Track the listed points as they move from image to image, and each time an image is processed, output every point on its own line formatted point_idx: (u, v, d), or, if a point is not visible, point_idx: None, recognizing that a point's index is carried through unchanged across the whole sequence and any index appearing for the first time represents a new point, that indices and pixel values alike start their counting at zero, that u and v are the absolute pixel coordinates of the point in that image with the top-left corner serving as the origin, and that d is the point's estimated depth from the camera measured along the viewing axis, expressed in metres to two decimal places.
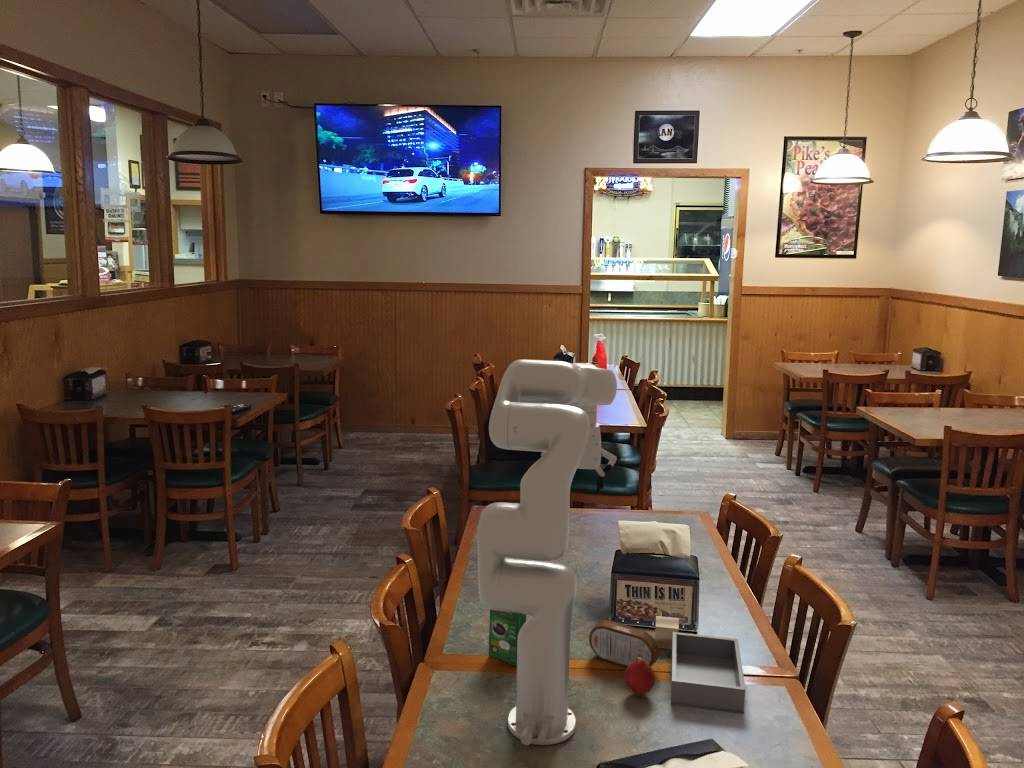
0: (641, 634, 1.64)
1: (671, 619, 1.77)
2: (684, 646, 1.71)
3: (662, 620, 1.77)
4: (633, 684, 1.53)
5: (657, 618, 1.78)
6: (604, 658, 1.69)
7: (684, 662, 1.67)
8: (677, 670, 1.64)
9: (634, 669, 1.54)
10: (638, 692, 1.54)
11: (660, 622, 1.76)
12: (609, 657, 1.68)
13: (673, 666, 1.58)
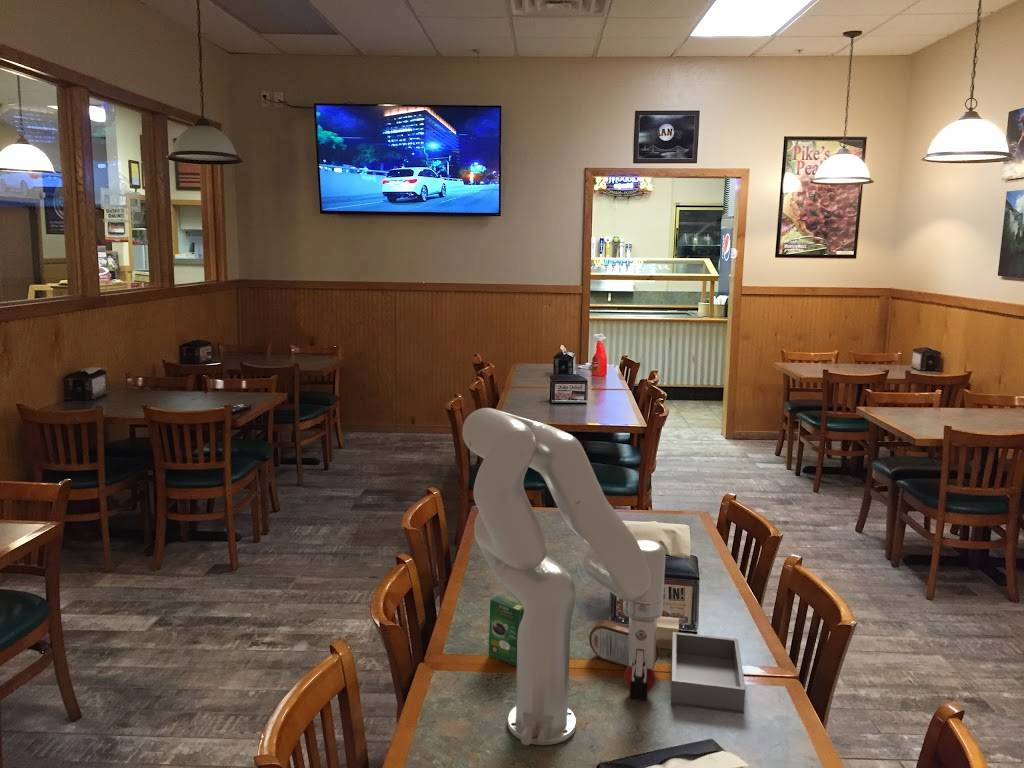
0: None
1: (671, 619, 1.77)
2: (684, 646, 1.71)
3: (662, 620, 1.77)
4: None
5: None
6: (604, 658, 1.69)
7: (684, 662, 1.67)
8: (677, 670, 1.64)
9: None
10: None
11: (660, 622, 1.76)
12: (609, 657, 1.68)
13: (673, 666, 1.58)
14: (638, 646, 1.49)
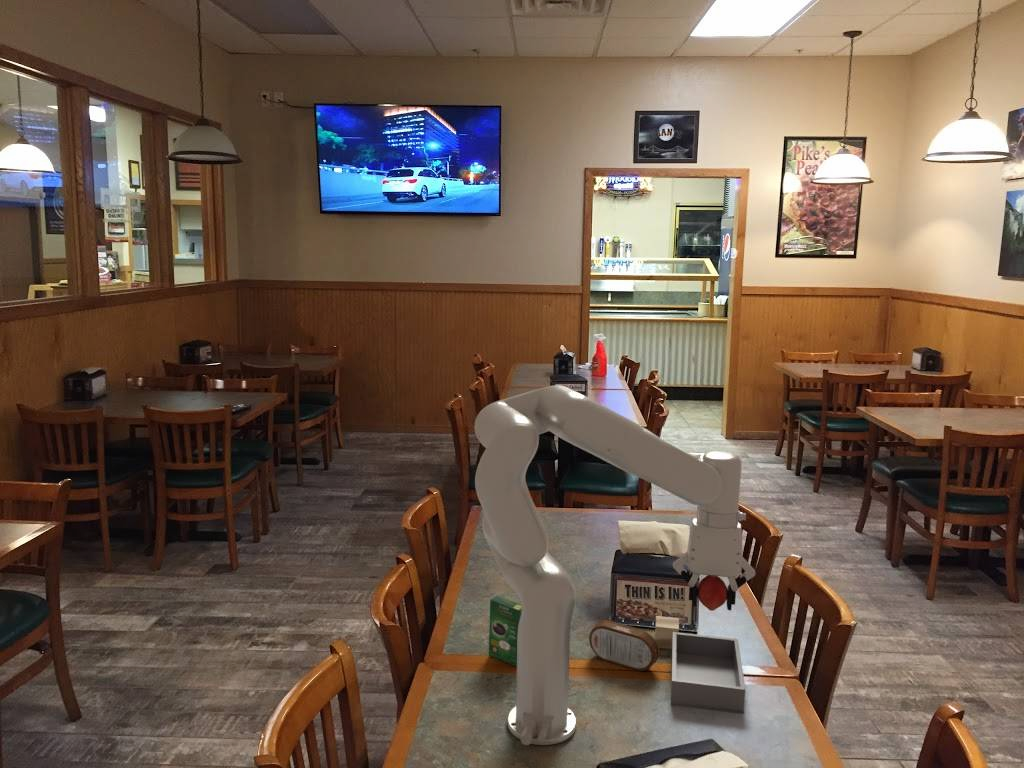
0: (641, 634, 1.64)
1: (671, 619, 1.77)
2: (684, 646, 1.71)
3: (662, 620, 1.77)
4: (727, 596, 1.52)
5: (657, 618, 1.78)
6: (604, 658, 1.69)
7: (684, 662, 1.67)
8: (677, 670, 1.64)
9: (721, 583, 1.52)
10: None
11: (660, 622, 1.76)
12: (609, 657, 1.68)
13: (673, 666, 1.58)
14: None
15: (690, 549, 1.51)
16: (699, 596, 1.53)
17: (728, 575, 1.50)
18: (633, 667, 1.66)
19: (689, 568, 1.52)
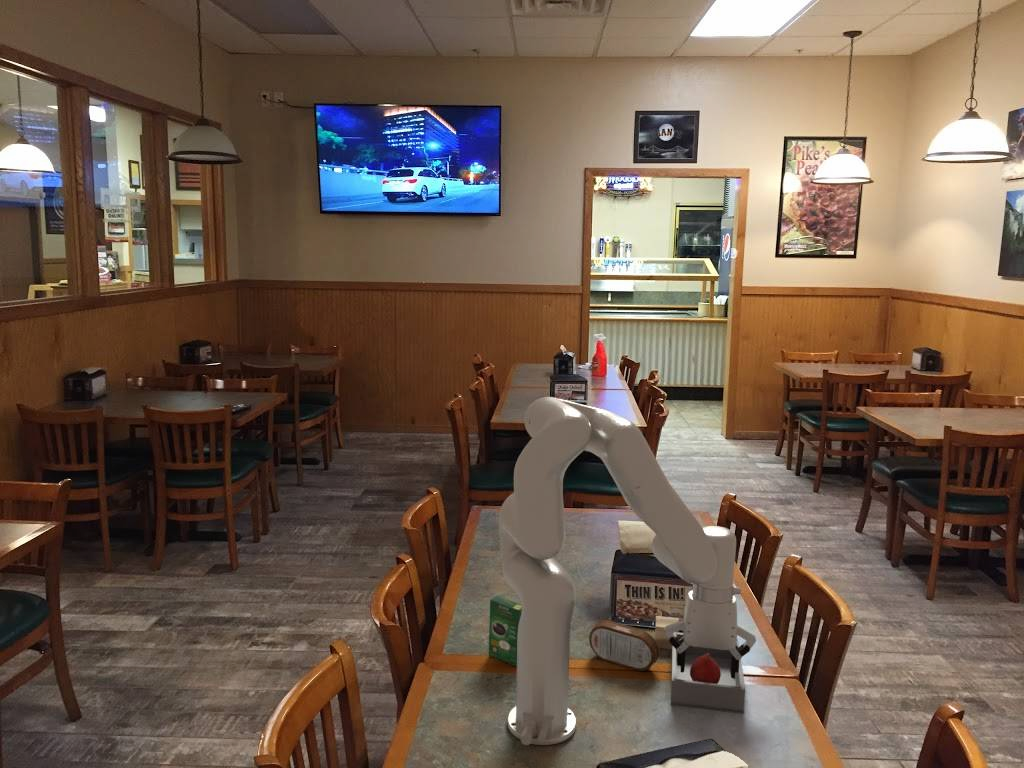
0: (641, 634, 1.64)
1: (671, 619, 1.77)
2: None
3: (662, 620, 1.77)
4: (719, 678, 1.55)
5: (657, 618, 1.78)
6: (604, 658, 1.69)
7: None
8: (677, 670, 1.64)
9: (714, 665, 1.55)
10: None
11: (660, 622, 1.76)
12: (609, 657, 1.68)
13: (673, 666, 1.58)
14: None
15: (686, 622, 1.54)
16: (692, 677, 1.56)
17: (724, 648, 1.53)
18: (633, 667, 1.66)
19: (685, 640, 1.54)
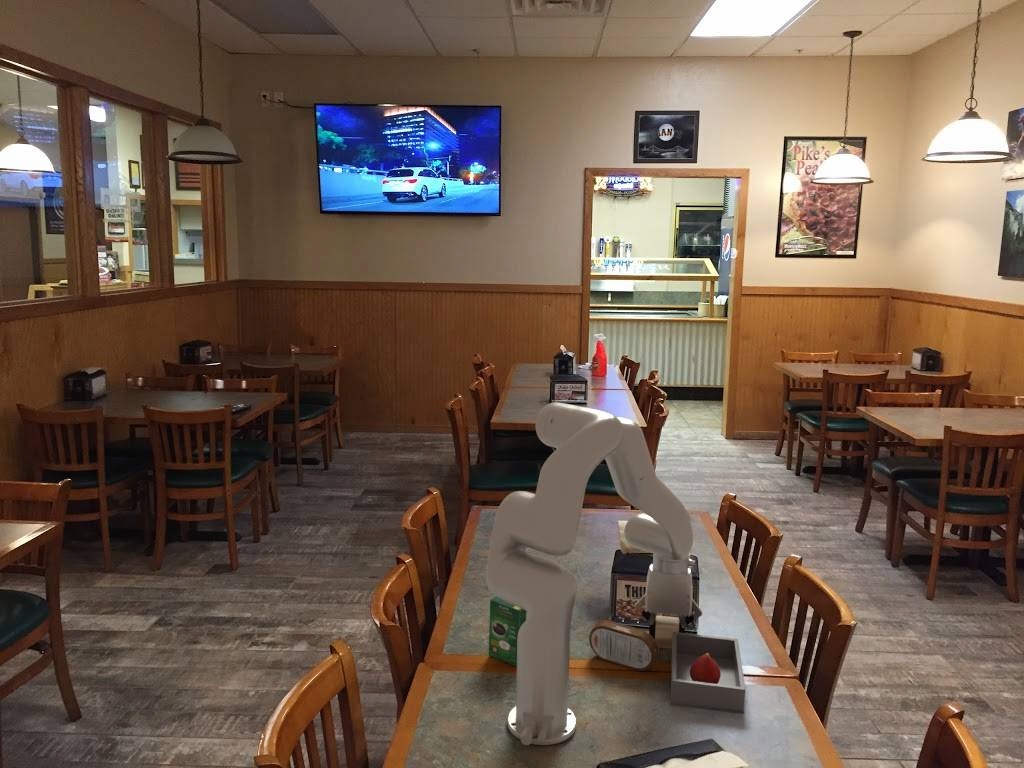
0: (641, 634, 1.64)
1: (671, 619, 1.77)
2: (684, 646, 1.71)
3: (662, 619, 1.77)
4: (719, 678, 1.55)
5: (657, 618, 1.78)
6: (604, 658, 1.69)
7: (684, 662, 1.67)
8: (677, 670, 1.64)
9: (714, 665, 1.55)
10: None
11: (660, 621, 1.76)
12: (609, 657, 1.68)
13: (673, 666, 1.58)
14: None
15: (647, 591, 1.74)
16: (692, 677, 1.56)
17: (680, 614, 1.73)
18: (633, 667, 1.66)
19: (646, 608, 1.74)
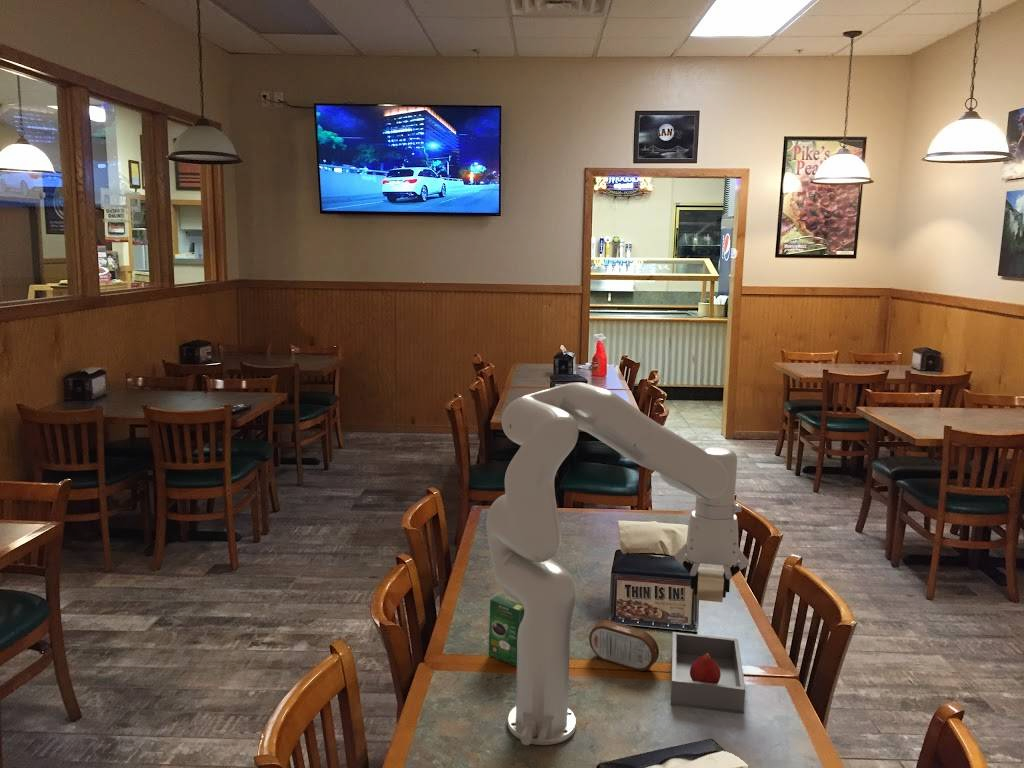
0: (641, 634, 1.64)
1: (714, 570, 1.64)
2: (684, 646, 1.71)
3: (705, 571, 1.64)
4: (719, 678, 1.55)
5: (699, 569, 1.64)
6: (604, 658, 1.69)
7: (684, 662, 1.67)
8: (677, 670, 1.64)
9: (714, 665, 1.55)
10: None
11: (703, 572, 1.63)
12: (609, 657, 1.68)
13: (673, 666, 1.58)
14: None
15: (689, 539, 1.60)
16: (692, 677, 1.56)
17: (725, 564, 1.60)
18: (633, 667, 1.66)
19: (688, 557, 1.61)
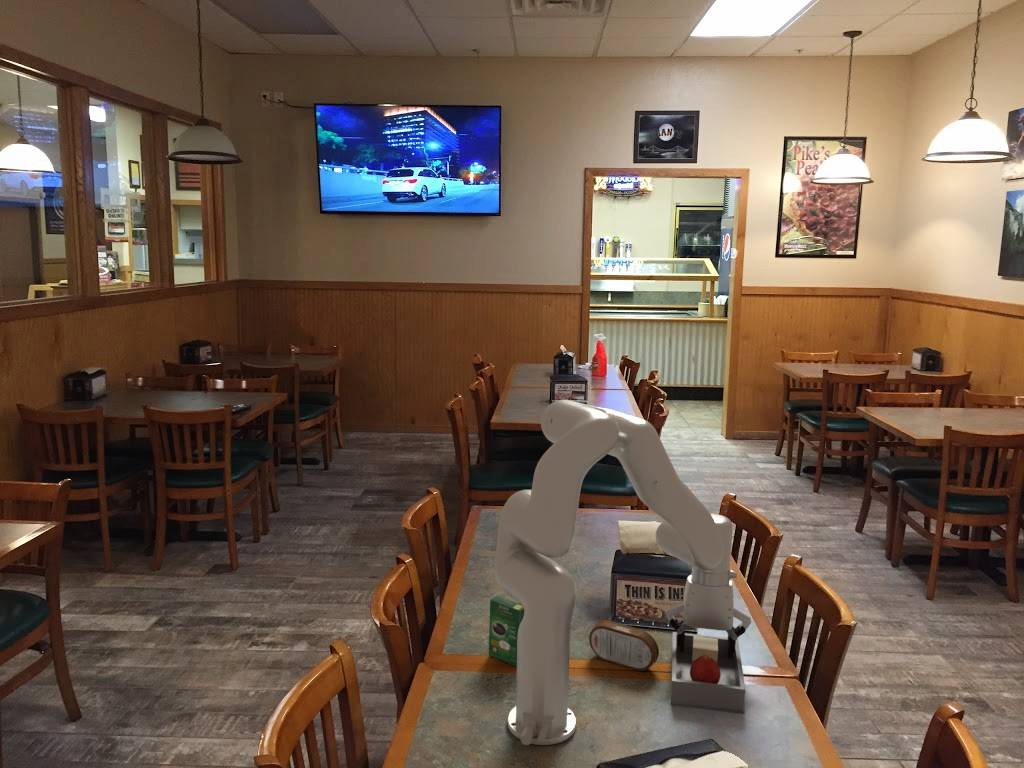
0: (641, 634, 1.64)
1: (710, 640, 1.67)
2: (684, 646, 1.71)
3: (700, 641, 1.66)
4: (719, 678, 1.55)
5: (695, 638, 1.67)
6: (604, 658, 1.69)
7: (684, 662, 1.67)
8: (677, 670, 1.64)
9: (714, 665, 1.55)
10: None
11: (698, 643, 1.66)
12: (609, 657, 1.68)
13: (673, 666, 1.58)
14: (733, 605, 1.62)
15: (685, 604, 1.63)
16: (692, 677, 1.56)
17: (721, 629, 1.62)
18: (633, 667, 1.66)
19: (684, 622, 1.64)
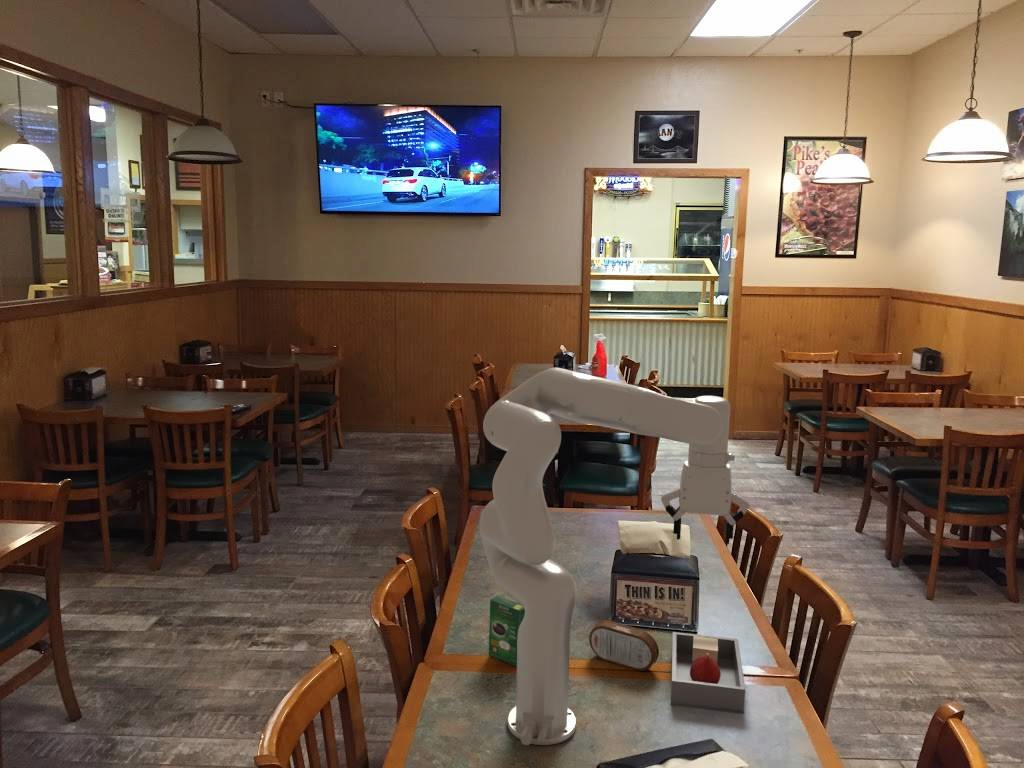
0: (641, 634, 1.64)
1: (710, 640, 1.67)
2: (684, 646, 1.71)
3: (700, 641, 1.66)
4: (719, 678, 1.55)
5: (695, 638, 1.67)
6: (604, 658, 1.69)
7: (684, 662, 1.67)
8: (677, 670, 1.64)
9: (714, 665, 1.55)
10: None
11: (698, 643, 1.66)
12: (609, 657, 1.68)
13: (673, 666, 1.58)
14: None
15: (682, 489, 1.59)
16: (692, 677, 1.56)
17: (718, 513, 1.58)
18: (633, 667, 1.66)
19: (681, 507, 1.60)
